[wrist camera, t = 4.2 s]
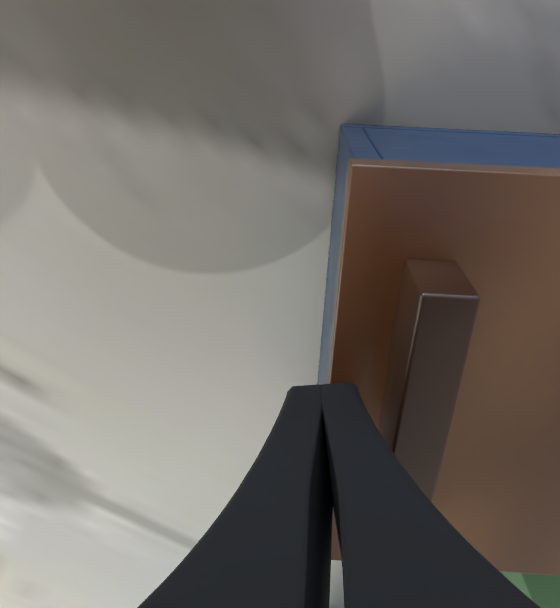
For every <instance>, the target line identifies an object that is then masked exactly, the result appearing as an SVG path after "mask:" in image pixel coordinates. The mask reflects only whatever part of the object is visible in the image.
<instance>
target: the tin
mask: <svg viewBox="0 0 560 608" xmlns="http://www.w3.org/2000/svg"><path fill="white" fill-rule="evenodd" d="M350 158H364V159H384V160H404V161H424V162H444V163H463V164H483V165H503V166H523V167H543V168H560V134H541V133H521V132H500V131H480V130H459V129H439V128H418V127H397V126H377V125H356V124H341V125H340V132H339V144H338V155H337V166H336V178H335V189H334V200H333V212H332V223H331V234H330V246H329V257H328V269H327V280H326V291H325V303H324V314H323V325H322V337H321V348H320V360H319V371H318V382H317V385H320V384H326V382H327V372H328V361H329V351H330V341H331V331H332V320H333V310H334V300H335V290H336V279H337V269H338V259H339V248H340V238H341V228H342V218H343V207H344V197H345V187H346V177H347V166H348V160H349V159H350Z"/></svg>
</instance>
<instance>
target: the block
mask: <svg viewBox="0 0 560 608" xmlns="http://www.w3.org/2000/svg"><path fill="white" fill-rule="evenodd" d="M500 572H501V571H500ZM501 573H502V574H503V575H504V576H505V577H506V578H507V579H508V580H510V581H511V582H512V583H513V584H514V585H515V586H516V587H517V588H518V589H519V590H520V591H522V592H523V593H524V594H525V595H526V596H528V597H529V598H530V599H531V600H532V601H534V602H535V603H536V604H537V605H538V606H539V607H541V608H560V576H559V575H544V574H530V573H515V572H501Z"/></svg>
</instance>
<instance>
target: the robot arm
mask: <svg viewBox="0 0 560 608" xmlns="http://www.w3.org/2000/svg"><path fill="white" fill-rule="evenodd" d="M333 509H334V516H335V522H336V528H337V535H338V541H339V547H340V554H341V560H342V567H343V587H344V607H345V608H541V607H539V606H538V605H537V604H536V603H535V602H534V601H532V600H531V599H530V598H529V597H528V596H526V595H525V594H524V593H523V592H522V591H520V590H519V589H518V588H517V587H516V586H515V585H514V584H513V583H512V582H511V581H510V580H508V579H507V578H506V577H505V576H504V575H503V574H502V573H501V572H500V571H499V570H498V569H497V568H495V567H494V566H493V565H492V564H491V563H490V562H489V561H488V560H487V559H486V558H485V557H484V556H482V555H481V554H480V553H479V552H478V551H477V550H476V549H475V548H474V547H473V546H472V545H471V544H470V543H469V542H468V541H467V540H466V539H465V538H464V537H463V536H462V535H461V534H460V533H459V532H458V531H457V530H456V529H455V528H454V527H453V526H452V525H451V523H450V522H449V521H448V520H447V519H446V518H445V517H444V516H443V515H442V514H441V512H440V511H439V510H438V509H437V508H436V507H435V506H434V505H433V503H432V502H431V501H430V500H429V499H428V498H427V496H426V495H425V494H424V493H423V491H422V490H421V489H420V488H419V487H418V485H417V484H416V483H415V481H414V480H413V479H412V478H411V476H410V475H409V474H408V472H407V471H406V470H405V468H404V467H403V466H402V464H401V463H400V462H399V460H398V459H397V457H396V456H395V454H394V453H393V451H392V450H391V448H390V447H389V445H388V444H387V442H386V441H385V439H384V438H383V436H382V435H381V433H380V432H379V430H378V428H377V427H376V425H375V423H374V421H373V420H372V418H371V416H370V414H369V412H368V411H367V409H366V407H365V405H364V402H363V400H362V398H361V395H360V393H359V390H358V387H357V386H356V385H355V384H354V383H352V382H347V383H333V384H320V385H306V386H293V387H292V388H291V389H290V390H289V391H288V392H287V395H286V398H285V401H284V404H283V406H282V409H281V411H280V413H279V416H278V418H277V420H276V422H275V424H274V426H273V428H272V430H271V432H270V434H269V436H268V438H267V440H266V442H265V444H264V446H263V447H262V449H261V451H260V453H259V455H258V457H257V458H256V460H255V462H254V464H253V465H252V467H251V468H250V470H249V472H248V473H247V475H246V476H245V478H244V480H243V481H242V483H241V484H240V486H239V488H238V489H237V491H236V492H235V494H234V495H233V497H232V498H231V500H230V501H229V502H228V504H227V505H226V507H225V508H224V509H223V511H222V512H221V514H220V515H219V516H218V518H217V519H216V520H215V522H214V523H213V524H212V526H211V527H210V528H209V529H208V531H207V532H206V533H205V534H204V536H203V537H202V538H201V539H200V540H199V542H198V543H197V544H196V545H195V546H194V548H193V549H192V550H191V551H190V552H189V554H188V555H187V556H186V557H185V558H184V560H183V561H182V562H181V563H180V564H179V565H178V566H177V567H176V569H175V570H174V571H173V572H172V573H171V574H170V575H169V576H168V577H167V578H166V579H165V580H164V581H163V582H162V583H161V584H160V586H159V587H158V588H157V589H156V590H155V591H154V592H153V593H152V594H151V595H150V596H149V597H148V598H147V599H146V600H145V601H144V602H143V603H142V604H141V605H140V606H139V607H138V608H329V597H330V571H331V546H332V520H333Z"/></svg>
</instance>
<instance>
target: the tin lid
mask: <svg viewBox="0 0 560 608" xmlns="http://www.w3.org/2000/svg"><path fill="white" fill-rule="evenodd" d="M347 382H352V383H354V384H355V385H356V386H357V387H358V390H359V393H360V395H361V398H362V400H363V402H364V405H365V407H366V409H367V411H368V412H369V414H370V416H371V418H372V420H373V421H374V423H375V425H376V427H377V428H378V430H379V432H380V433H381V435H382V436H383V438H384V439H385V441H386V442H387V444H388V445H389V447H390V448H391V450H392V451H393V453H394V454H395V456H396V457H397V459H398V460H399V462H400V463H401V464H402V466H403V467H404V468H405V470H406V471H407V472H408V474H409V475H410V476H411V478H412V479H413V480H414V481H415V483H416V484H417V485H418V487H419V488H420V489H421V490H422V491H423V493H424V494H425V495H426V496H427V498H428V499H429V500H430V501H431V502H432V503H433V505H434V506H435V507H436V508H437V509H438V510H439V511H440V512H441V514H442V515H443V516H444V517H445V518H446V519H447V520H448V521H449V522H450V523H451V525H452V526H453V527H454V528H455V529H456V530H457V531H458V532H459V533H460V534H461V535H462V536H463V537H464V538H465V539H466V540H467V541H468V542H469V543H470V544H471V545H472V546H473V547H474V548H475V549H476V550H477V551H478V552H479V553H480V554H481V555H482V556H484V557H485V558H486V559H487V560H488V561H489V562H490V563H491V564H492V565H493V566H494V567H495V568H497V569H498V570H499V571H501V572H515V573H530V574H544V575H559V576H560V168H543V167H523V166H503V165H483V164H463V163H444V162H424V161H404V160H384V159H364V158H350V159H349V160H348V166H347V177H346V187H345V197H344V207H343V218H342V228H341V238H340V248H339V259H338V269H337V279H336V290H335V300H334V310H333V320H332V331H331V341H330V351H329V361H328V372H327V382H326V384H333V383H347ZM331 560H341V554H340V547H339V541H338V535H337V528H336V522H335V516H334V509H333V520H332V546H331ZM341 561H342V560H341Z"/></svg>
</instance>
